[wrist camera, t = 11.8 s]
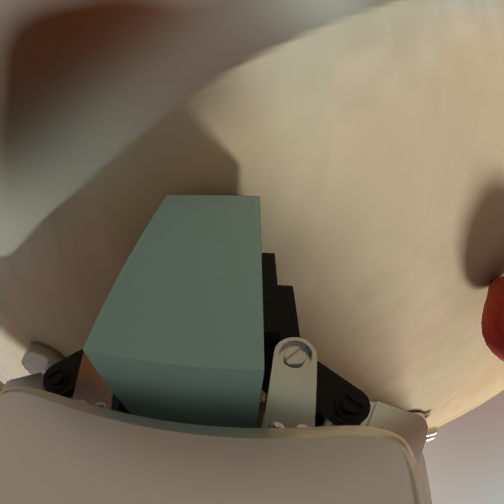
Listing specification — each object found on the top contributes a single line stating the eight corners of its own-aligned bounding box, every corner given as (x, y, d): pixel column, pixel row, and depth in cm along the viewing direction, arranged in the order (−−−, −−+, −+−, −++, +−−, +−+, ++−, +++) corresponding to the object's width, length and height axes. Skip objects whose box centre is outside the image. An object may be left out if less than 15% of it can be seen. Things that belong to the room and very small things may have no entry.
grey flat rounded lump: (53, 342, 19) (43, 363, 17) (80, 373, 22) (73, 393, 20) (22, 337, 19) (13, 355, 17) (48, 366, 22) (41, 384, 20)
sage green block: (259, 196, 10) (264, 370, 5) (247, 408, 21) (246, 484, 15) (166, 194, 10) (82, 349, 4) (205, 406, 21) (198, 481, 15)
